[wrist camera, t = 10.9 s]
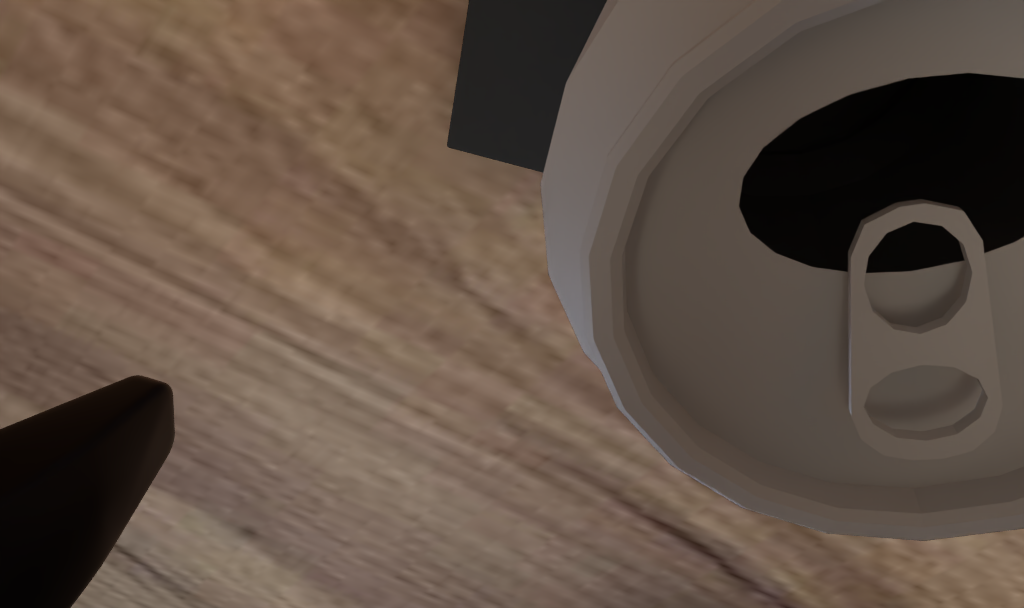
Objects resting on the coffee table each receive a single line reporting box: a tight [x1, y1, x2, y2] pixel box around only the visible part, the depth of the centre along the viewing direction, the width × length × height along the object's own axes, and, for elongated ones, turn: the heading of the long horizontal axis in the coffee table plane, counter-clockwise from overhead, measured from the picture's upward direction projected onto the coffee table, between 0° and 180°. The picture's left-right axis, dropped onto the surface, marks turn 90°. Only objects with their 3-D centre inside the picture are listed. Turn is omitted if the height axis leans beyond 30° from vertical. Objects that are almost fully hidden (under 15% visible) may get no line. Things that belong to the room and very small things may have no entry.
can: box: [541, 0, 1024, 541], centre depth 12 cm, size 8×8×12 cm
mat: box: [447, 0, 607, 172], centre depth 17 cm, size 14×10×1 cm
